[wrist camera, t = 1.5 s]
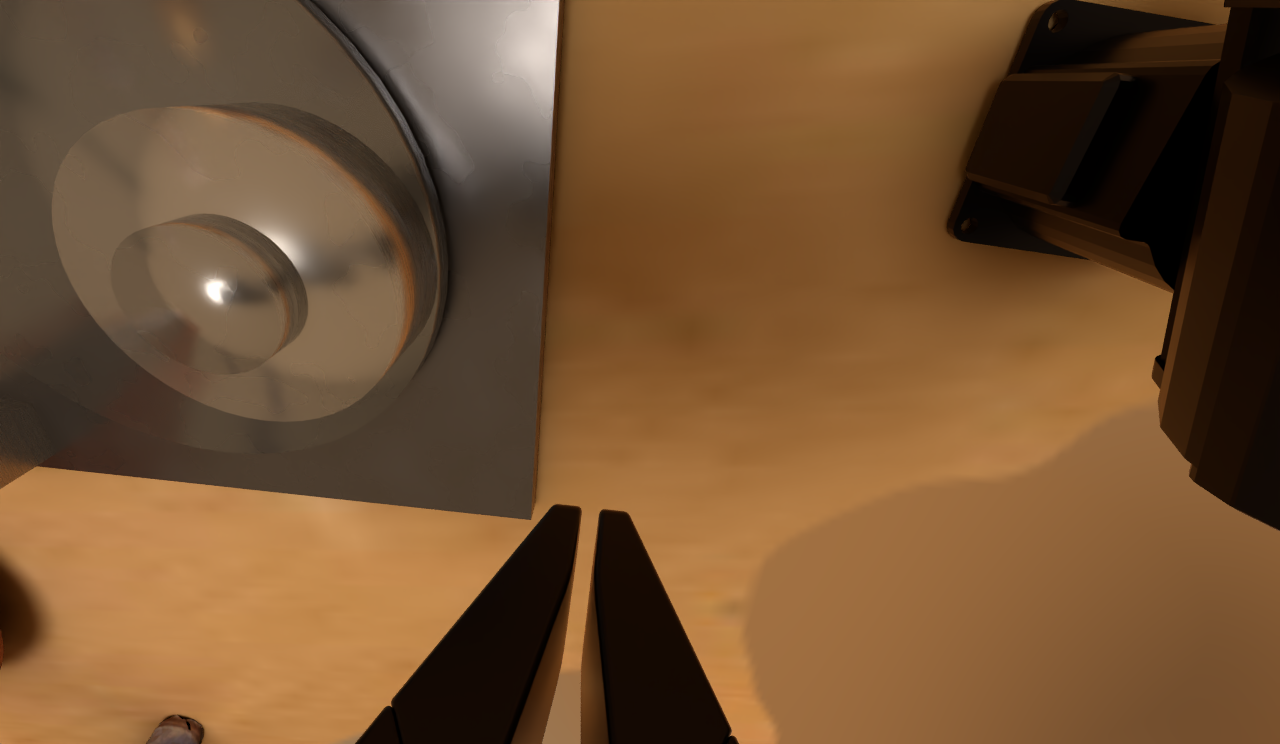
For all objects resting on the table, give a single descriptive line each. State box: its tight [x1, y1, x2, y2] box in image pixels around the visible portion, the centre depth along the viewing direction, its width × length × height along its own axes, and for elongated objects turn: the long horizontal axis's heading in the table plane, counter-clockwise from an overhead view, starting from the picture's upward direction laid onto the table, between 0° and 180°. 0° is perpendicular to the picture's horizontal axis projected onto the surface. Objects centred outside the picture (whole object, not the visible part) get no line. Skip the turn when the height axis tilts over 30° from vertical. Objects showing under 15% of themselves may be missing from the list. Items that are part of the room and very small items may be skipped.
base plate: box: [0, 0, 565, 520], centre depth 17 cm, size 22×22×1 cm
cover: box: [52, 102, 438, 422], centre depth 14 cm, size 8×8×4 cm
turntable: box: [0, 0, 448, 454], centre depth 13 cm, size 16×22×5 cm
